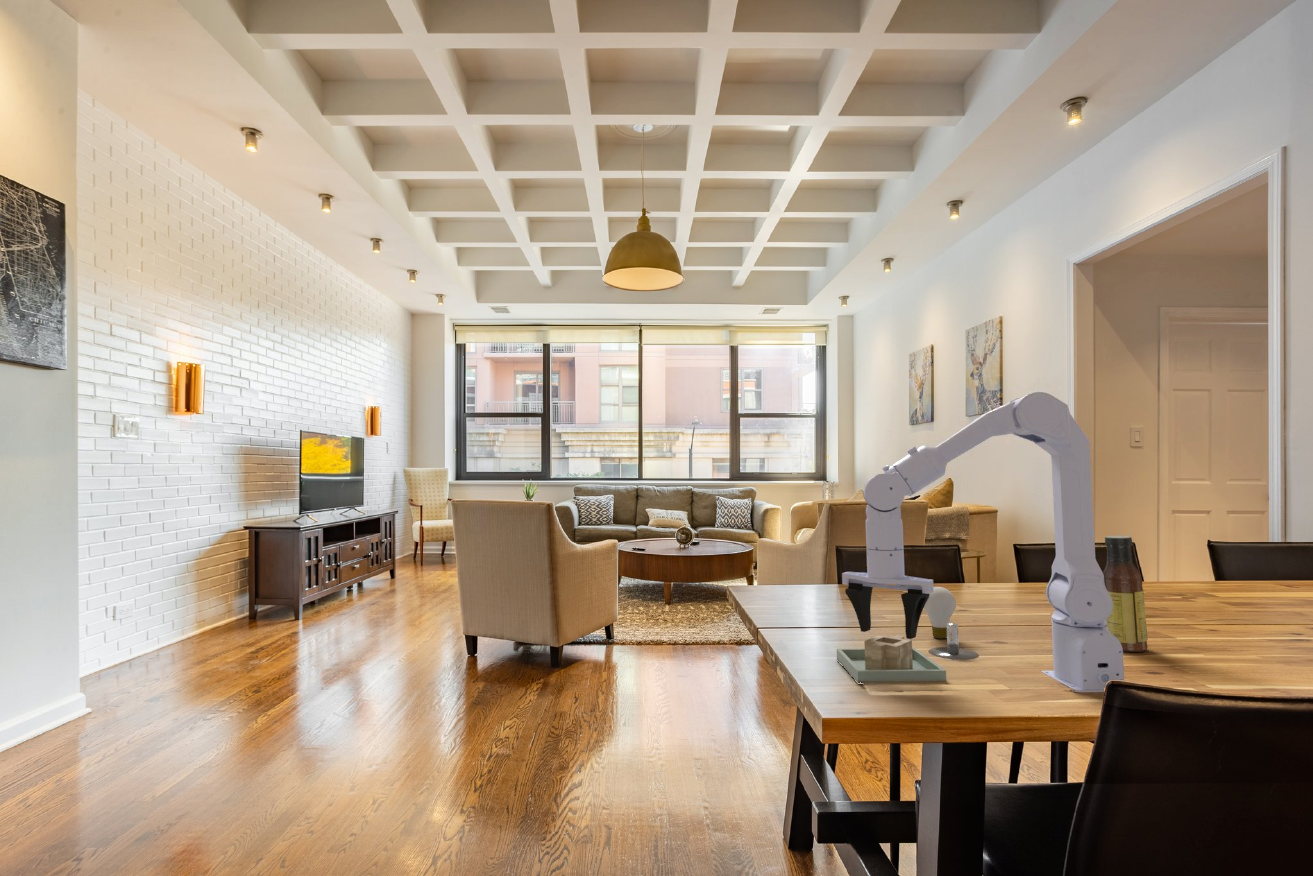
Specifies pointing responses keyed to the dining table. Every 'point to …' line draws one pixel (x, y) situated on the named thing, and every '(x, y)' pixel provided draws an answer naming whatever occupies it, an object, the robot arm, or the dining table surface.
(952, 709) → the dining table surface
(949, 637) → the grey metal round stand
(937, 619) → the light bulb
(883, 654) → the beige hollow block
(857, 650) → the tray
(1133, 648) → the sauce bottle
